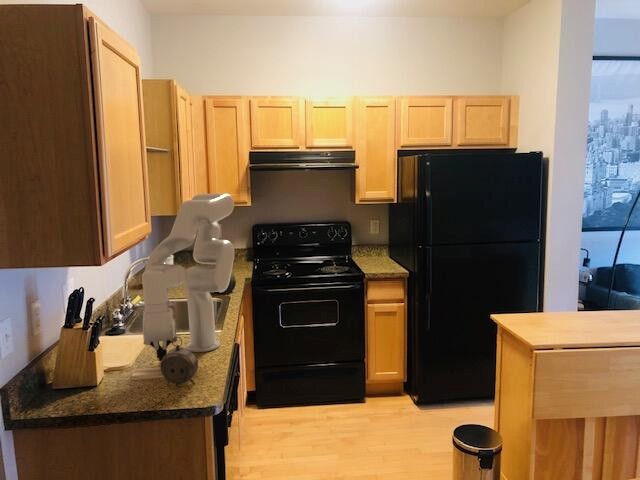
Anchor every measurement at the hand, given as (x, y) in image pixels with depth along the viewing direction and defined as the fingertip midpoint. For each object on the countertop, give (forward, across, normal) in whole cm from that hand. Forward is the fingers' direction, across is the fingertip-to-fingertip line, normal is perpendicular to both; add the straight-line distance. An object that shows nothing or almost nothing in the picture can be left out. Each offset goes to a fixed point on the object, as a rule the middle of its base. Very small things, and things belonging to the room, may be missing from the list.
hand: (162, 359), depth 156 cm
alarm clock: (+5, -7, +11) cm, 14 cm away
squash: (+8, -15, -106) cm, 108 cm away
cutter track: (+5, +1, 0) cm, 5 cm away
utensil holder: (+8, +22, -135) cm, 137 cm away
